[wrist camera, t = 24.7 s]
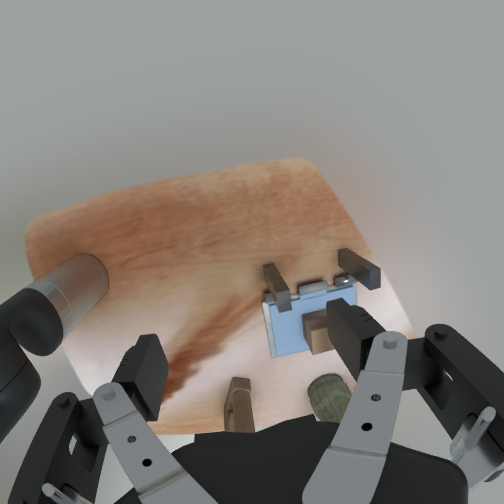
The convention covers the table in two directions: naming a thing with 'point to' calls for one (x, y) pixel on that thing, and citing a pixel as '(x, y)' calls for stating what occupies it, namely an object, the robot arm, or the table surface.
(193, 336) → the table surface
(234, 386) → the wooden block
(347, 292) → the pale blue flat slab
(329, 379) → the thermos
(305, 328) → the block
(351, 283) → the base leaf
